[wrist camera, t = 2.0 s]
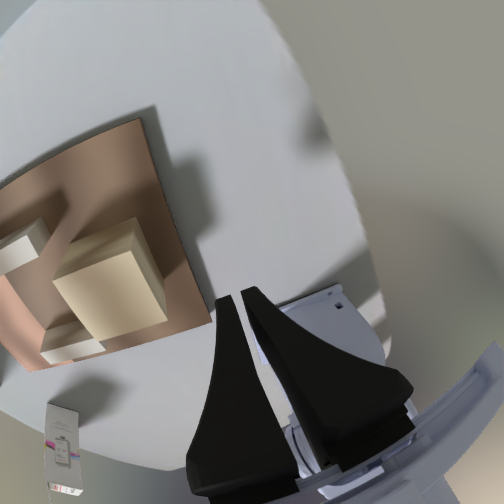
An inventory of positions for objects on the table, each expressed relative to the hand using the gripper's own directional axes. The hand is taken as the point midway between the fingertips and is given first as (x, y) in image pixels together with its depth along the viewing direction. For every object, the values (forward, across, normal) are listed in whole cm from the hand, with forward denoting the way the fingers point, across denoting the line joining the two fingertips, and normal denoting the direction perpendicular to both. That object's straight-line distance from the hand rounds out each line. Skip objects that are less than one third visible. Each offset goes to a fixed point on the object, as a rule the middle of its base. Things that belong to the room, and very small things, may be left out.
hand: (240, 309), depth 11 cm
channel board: (+8, +12, 0) cm, 15 cm away
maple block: (+7, +6, 0) cm, 10 cm away
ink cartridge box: (+9, +29, +20) cm, 36 cm away
